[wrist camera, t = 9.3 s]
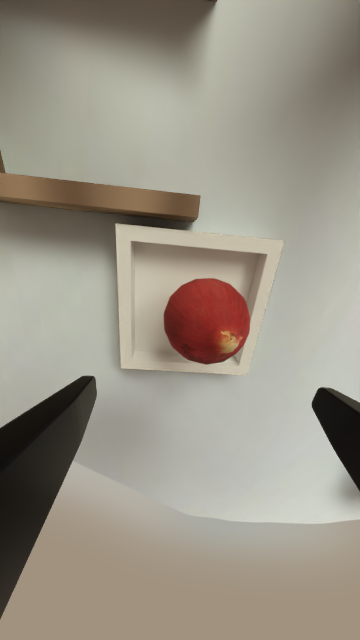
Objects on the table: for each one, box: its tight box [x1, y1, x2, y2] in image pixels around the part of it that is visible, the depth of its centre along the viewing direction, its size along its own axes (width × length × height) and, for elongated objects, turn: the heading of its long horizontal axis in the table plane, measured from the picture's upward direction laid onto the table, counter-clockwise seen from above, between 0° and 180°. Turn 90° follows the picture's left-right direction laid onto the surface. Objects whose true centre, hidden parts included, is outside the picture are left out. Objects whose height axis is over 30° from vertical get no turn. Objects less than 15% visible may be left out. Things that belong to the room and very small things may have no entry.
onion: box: [163, 278, 250, 365], centre depth 13 cm, size 6×6×8 cm
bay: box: [0, 0, 217, 222], centre depth 10 cm, size 15×12×4 cm
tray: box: [115, 223, 284, 375], centre depth 16 cm, size 12×12×2 cm
